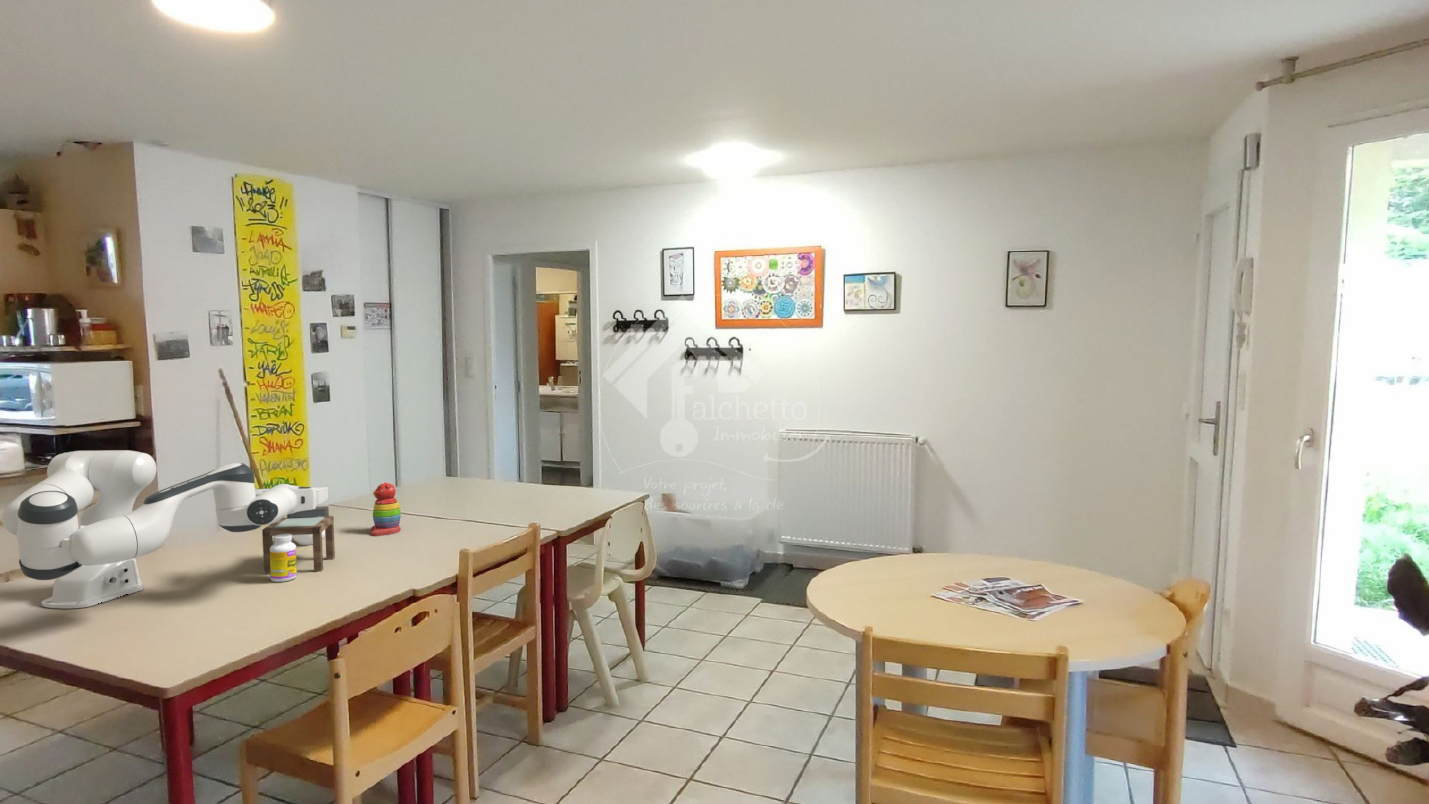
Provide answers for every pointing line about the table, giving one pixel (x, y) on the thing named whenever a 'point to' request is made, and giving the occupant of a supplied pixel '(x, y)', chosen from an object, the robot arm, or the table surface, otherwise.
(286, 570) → the supplement bottle
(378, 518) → the stacking bear
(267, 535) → the miniature wooden table
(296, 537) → the lidded bowl
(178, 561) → the table surface
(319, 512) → the trapdoor
